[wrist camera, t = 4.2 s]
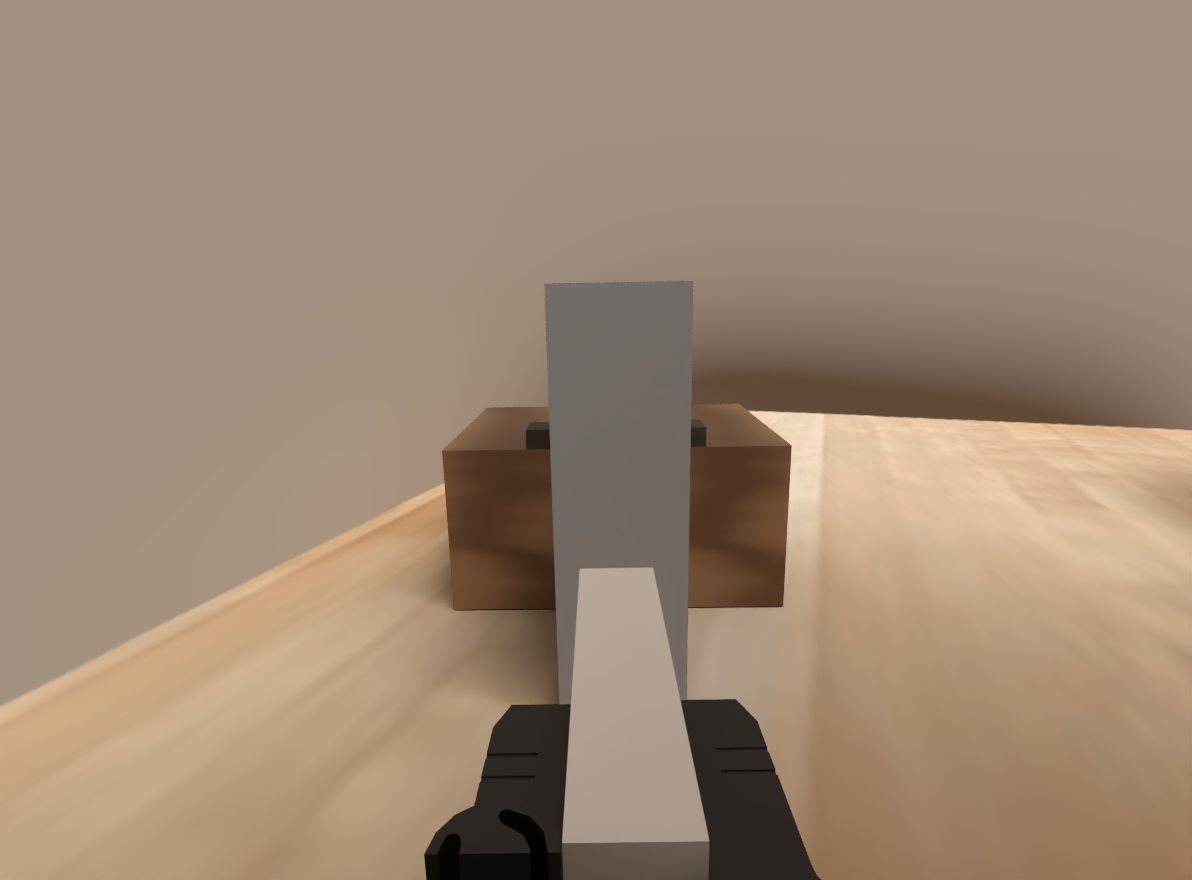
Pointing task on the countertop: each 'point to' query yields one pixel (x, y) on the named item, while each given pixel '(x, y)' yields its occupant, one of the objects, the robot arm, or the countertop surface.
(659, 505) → the peg
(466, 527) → the socket block
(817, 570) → the countertop surface
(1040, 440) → the countertop surface
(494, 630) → the countertop surface
